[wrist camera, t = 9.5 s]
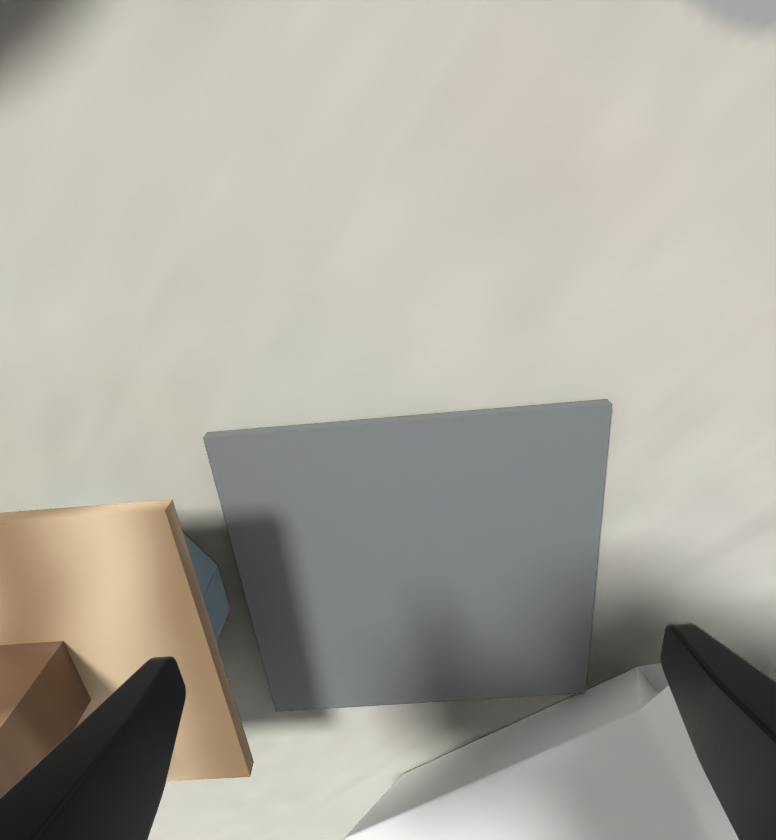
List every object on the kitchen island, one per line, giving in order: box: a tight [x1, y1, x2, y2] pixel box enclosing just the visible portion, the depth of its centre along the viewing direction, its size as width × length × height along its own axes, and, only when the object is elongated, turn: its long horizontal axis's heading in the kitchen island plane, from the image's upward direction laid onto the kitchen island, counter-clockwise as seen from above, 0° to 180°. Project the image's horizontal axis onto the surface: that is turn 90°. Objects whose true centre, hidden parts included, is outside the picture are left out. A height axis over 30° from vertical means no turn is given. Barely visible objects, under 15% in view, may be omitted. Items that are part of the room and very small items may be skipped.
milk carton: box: [344, 663, 739, 840], centre depth 23 cm, size 7×7×19 cm
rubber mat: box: [203, 399, 612, 712], centre depth 24 cm, size 16×16×1 cm
